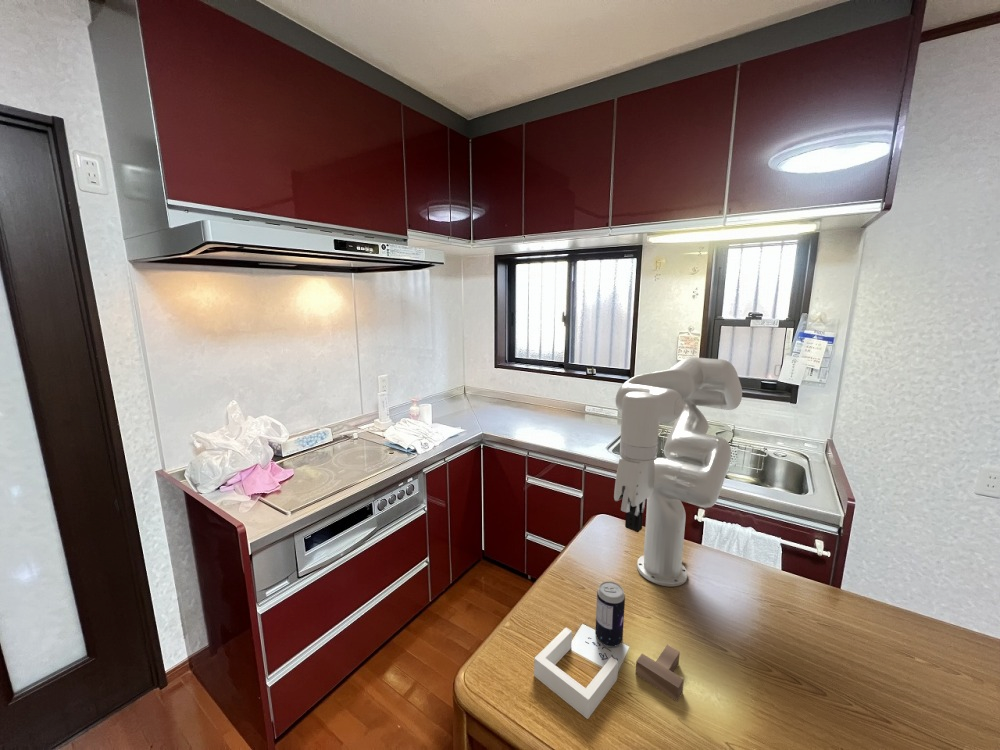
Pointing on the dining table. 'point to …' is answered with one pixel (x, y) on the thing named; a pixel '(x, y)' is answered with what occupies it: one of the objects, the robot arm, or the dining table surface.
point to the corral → (567, 686)
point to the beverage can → (610, 614)
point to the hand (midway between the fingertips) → (633, 528)
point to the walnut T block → (662, 672)
